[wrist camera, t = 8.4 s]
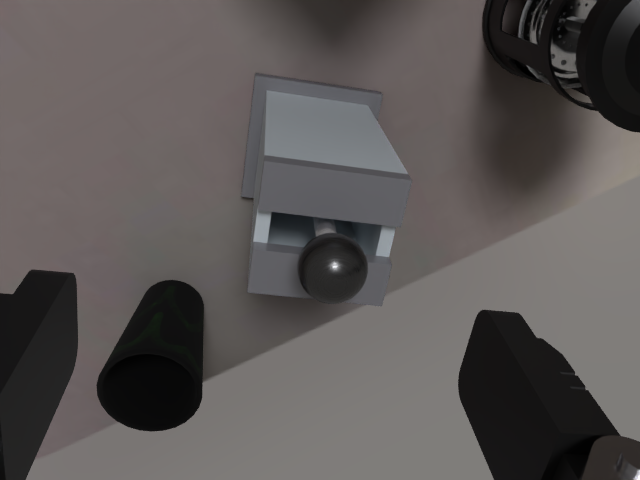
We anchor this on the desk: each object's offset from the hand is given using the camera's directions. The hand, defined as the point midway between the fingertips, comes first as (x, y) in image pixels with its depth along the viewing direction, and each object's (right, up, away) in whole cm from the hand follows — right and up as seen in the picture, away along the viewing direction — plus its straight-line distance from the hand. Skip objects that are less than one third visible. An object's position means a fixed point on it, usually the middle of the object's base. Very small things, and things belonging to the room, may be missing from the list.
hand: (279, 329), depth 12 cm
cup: (-13, -4, +44) cm, 46 cm away
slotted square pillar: (0, +10, +38) cm, 39 cm away
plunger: (0, +7, +32) cm, 33 cm away
